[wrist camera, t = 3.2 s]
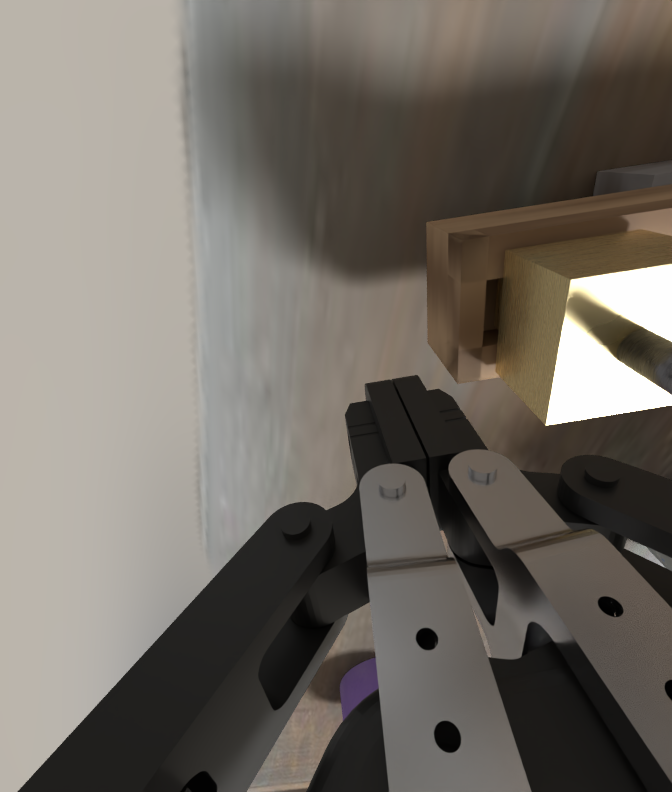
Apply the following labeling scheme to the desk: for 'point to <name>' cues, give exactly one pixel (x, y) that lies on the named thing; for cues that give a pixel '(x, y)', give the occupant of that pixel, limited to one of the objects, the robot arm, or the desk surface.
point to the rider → (587, 325)
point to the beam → (515, 228)
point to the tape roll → (358, 685)
